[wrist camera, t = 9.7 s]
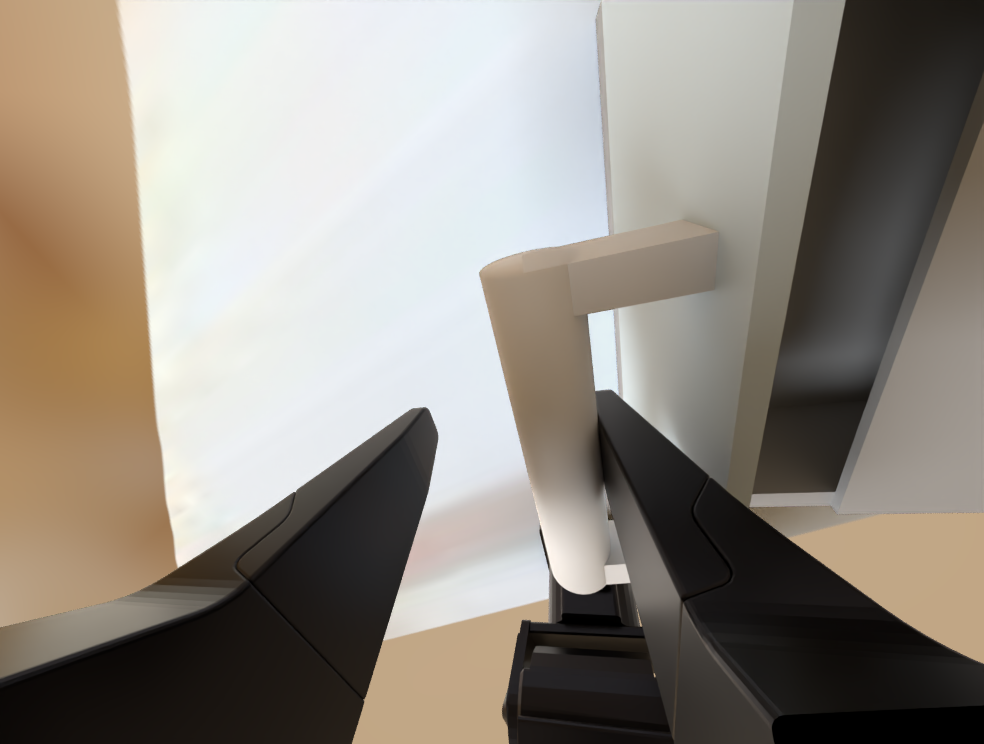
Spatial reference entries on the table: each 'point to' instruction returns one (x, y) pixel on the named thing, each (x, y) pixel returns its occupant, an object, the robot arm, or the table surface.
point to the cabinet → (883, 275)
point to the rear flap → (671, 257)
